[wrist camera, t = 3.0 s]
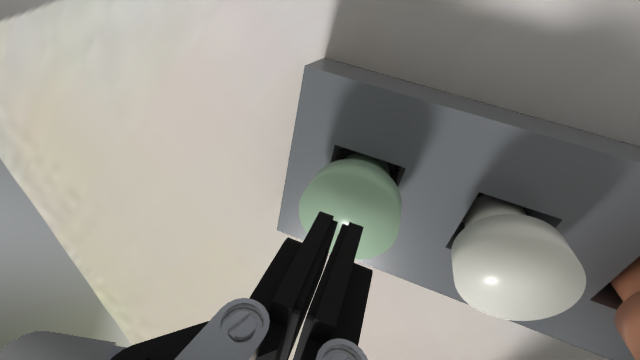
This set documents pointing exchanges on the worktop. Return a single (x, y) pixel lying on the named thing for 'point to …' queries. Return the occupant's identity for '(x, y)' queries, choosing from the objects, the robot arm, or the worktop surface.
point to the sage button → (356, 201)
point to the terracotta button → (629, 306)
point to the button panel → (474, 183)
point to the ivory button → (514, 263)
